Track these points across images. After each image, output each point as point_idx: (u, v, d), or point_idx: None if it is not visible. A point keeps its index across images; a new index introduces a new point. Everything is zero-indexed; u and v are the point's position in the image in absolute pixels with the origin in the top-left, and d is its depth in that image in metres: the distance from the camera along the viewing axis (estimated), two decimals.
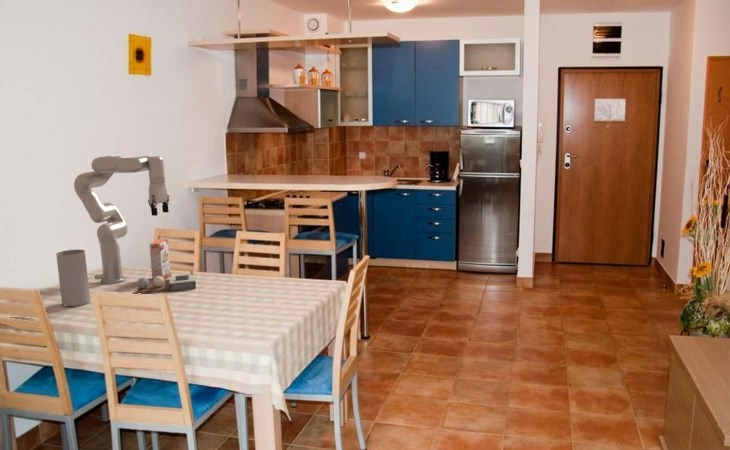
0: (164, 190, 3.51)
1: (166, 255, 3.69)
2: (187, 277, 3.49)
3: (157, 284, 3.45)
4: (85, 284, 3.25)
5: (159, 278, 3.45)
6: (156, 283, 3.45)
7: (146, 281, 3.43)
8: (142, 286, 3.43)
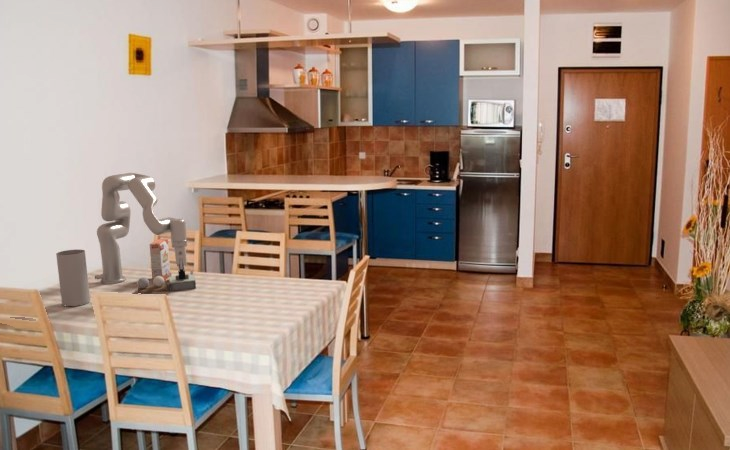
0: (175, 254, 3.43)
1: (166, 255, 3.69)
2: (187, 277, 3.50)
3: (157, 284, 3.45)
4: (85, 284, 3.25)
5: (159, 278, 3.45)
6: (156, 283, 3.45)
7: (146, 281, 3.43)
8: (142, 286, 3.43)
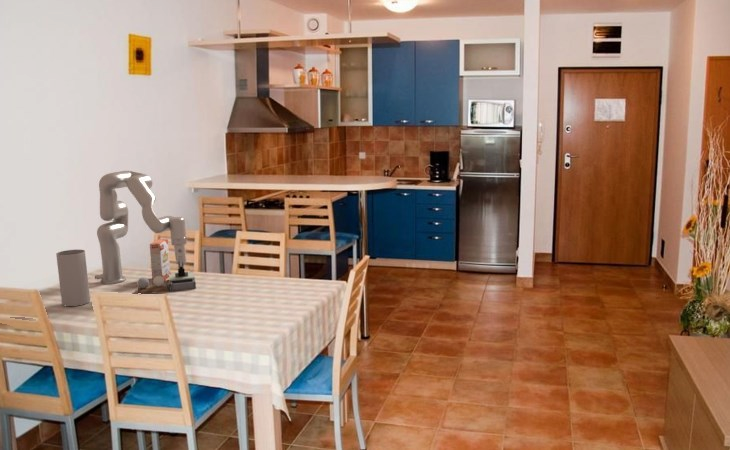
0: None
1: (166, 255, 3.69)
2: (186, 274, 3.56)
3: (157, 284, 3.45)
4: (85, 284, 3.25)
5: (159, 278, 3.45)
6: (156, 283, 3.45)
7: (146, 281, 3.43)
8: (142, 286, 3.43)
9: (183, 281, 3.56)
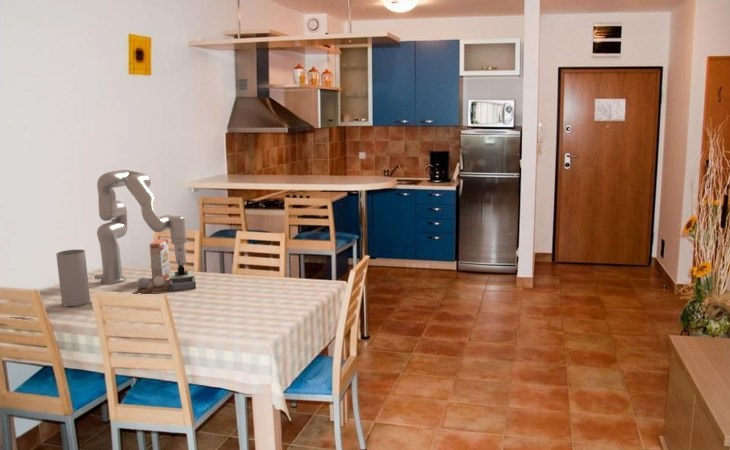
0: None
1: (166, 255, 3.69)
2: (186, 273, 3.59)
3: (157, 284, 3.45)
4: (85, 284, 3.25)
5: (159, 278, 3.45)
6: (156, 283, 3.45)
7: (146, 281, 3.43)
8: (142, 286, 3.43)
9: (183, 281, 3.56)
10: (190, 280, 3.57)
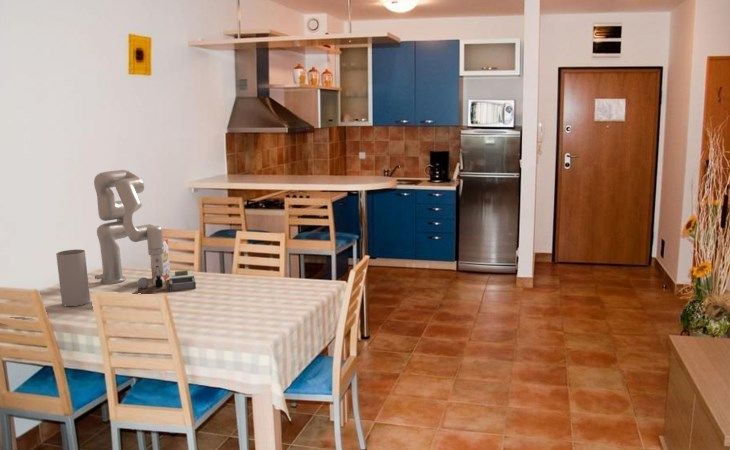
0: (152, 262, 3.43)
1: (166, 255, 3.69)
2: (186, 273, 3.59)
3: None
4: (85, 284, 3.25)
5: None
6: None
7: (146, 281, 3.43)
8: (142, 286, 3.43)
9: (183, 281, 3.56)
10: (190, 280, 3.57)
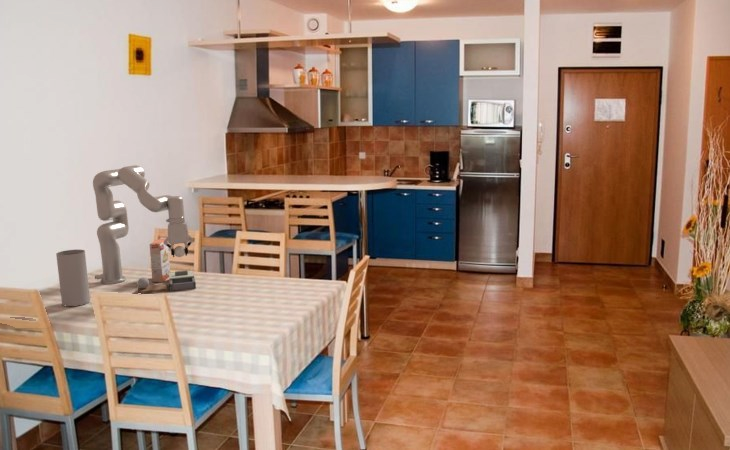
0: None
1: (166, 255, 3.69)
2: (186, 273, 3.59)
3: None
4: (85, 284, 3.25)
5: (175, 248, 3.47)
6: None
7: (146, 281, 3.43)
8: (142, 286, 3.43)
9: (183, 281, 3.56)
10: (190, 280, 3.57)
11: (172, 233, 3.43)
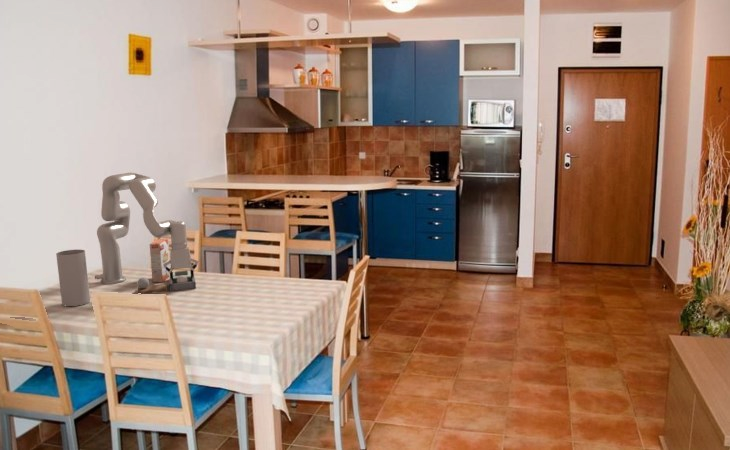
0: None
1: (166, 255, 3.69)
2: (186, 273, 3.59)
3: None
4: (85, 284, 3.25)
5: (178, 277, 3.49)
6: None
7: (146, 281, 3.43)
8: (142, 286, 3.43)
9: None
10: (190, 280, 3.57)
11: (175, 258, 3.45)
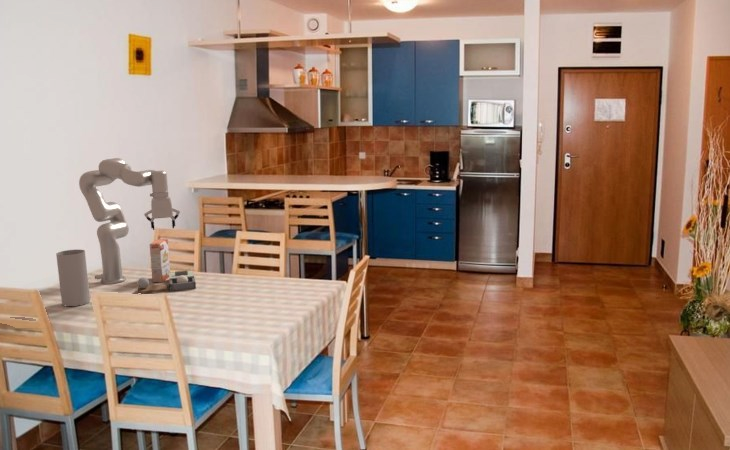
0: None
1: (166, 255, 3.69)
2: (186, 273, 3.59)
3: None
4: (85, 284, 3.25)
5: (178, 277, 3.49)
6: None
7: (146, 281, 3.43)
8: (142, 286, 3.43)
9: None
10: (190, 280, 3.57)
11: (156, 207, 3.43)
